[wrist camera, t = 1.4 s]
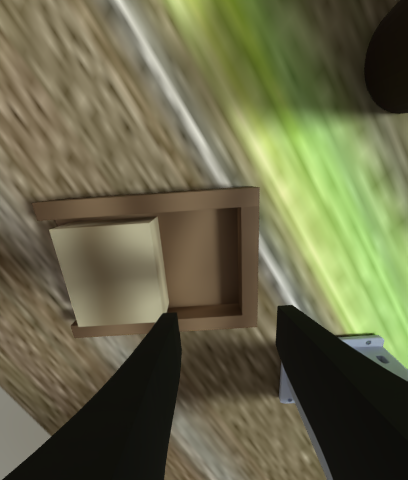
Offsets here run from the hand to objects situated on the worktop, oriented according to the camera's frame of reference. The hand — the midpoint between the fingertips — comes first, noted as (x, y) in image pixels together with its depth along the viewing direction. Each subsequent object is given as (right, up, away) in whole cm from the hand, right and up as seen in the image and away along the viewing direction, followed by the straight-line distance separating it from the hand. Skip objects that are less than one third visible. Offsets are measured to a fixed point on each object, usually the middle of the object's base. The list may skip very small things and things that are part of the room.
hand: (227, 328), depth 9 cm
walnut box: (-5, +2, +8) cm, 10 cm away
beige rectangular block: (-8, +2, +8) cm, 11 cm away
